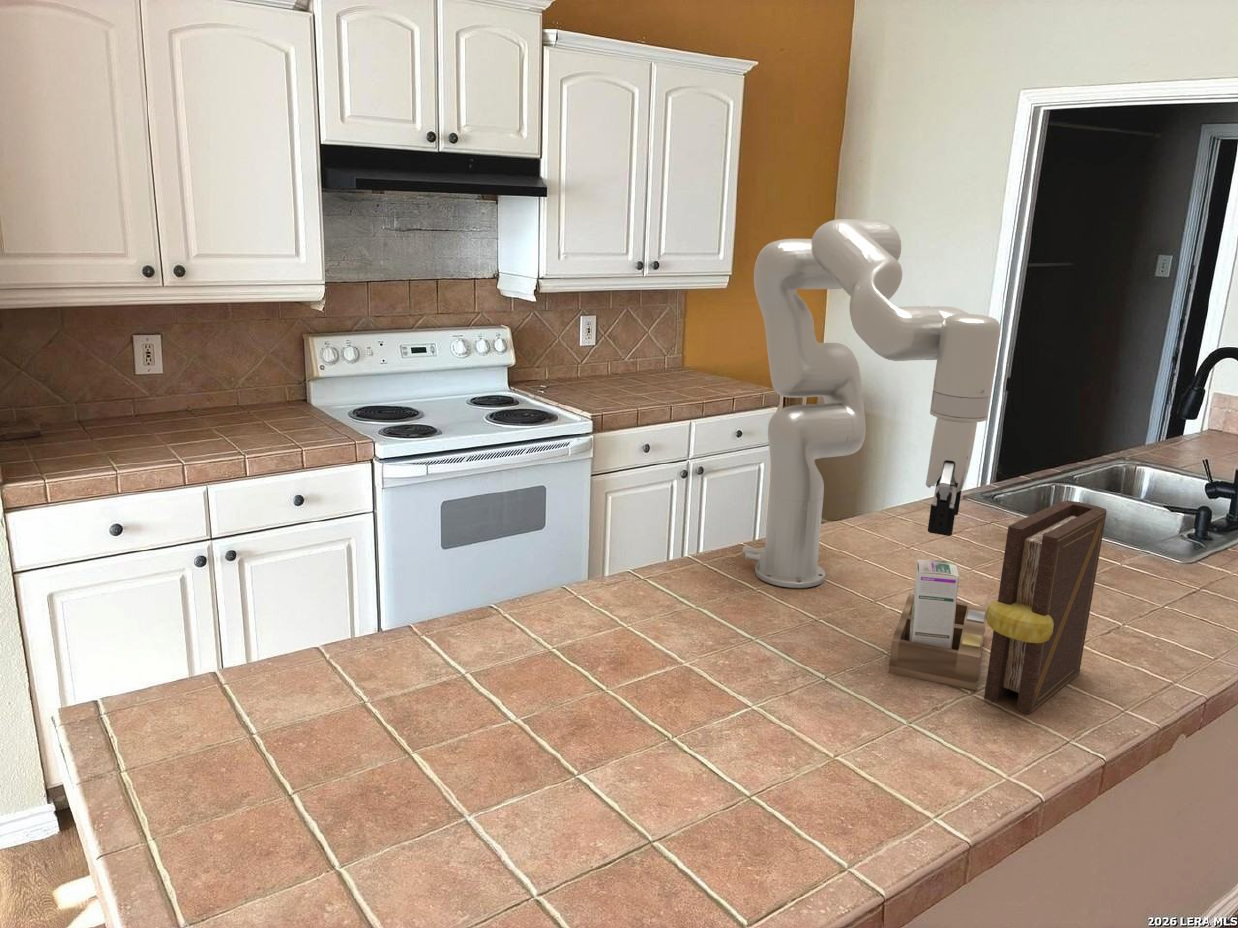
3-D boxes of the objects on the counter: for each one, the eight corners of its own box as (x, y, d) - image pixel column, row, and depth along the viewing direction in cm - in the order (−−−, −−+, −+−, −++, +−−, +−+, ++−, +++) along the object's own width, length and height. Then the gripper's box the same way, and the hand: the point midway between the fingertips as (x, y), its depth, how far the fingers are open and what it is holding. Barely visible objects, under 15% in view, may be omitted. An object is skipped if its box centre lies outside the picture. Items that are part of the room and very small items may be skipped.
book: (1033, 653, 145) (1057, 497, 139) (1091, 673, 139) (1119, 511, 133) (966, 701, 130) (990, 528, 124) (1028, 725, 124) (1056, 545, 118)
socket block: (975, 690, 133) (980, 655, 132) (888, 672, 138) (892, 638, 136) (983, 636, 151) (988, 605, 149) (905, 621, 155) (909, 591, 154)
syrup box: (950, 670, 137) (962, 575, 133) (907, 664, 138) (918, 571, 134) (946, 653, 142) (958, 562, 138) (905, 647, 143) (916, 557, 140)
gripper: (937, 391, 139) (922, 502, 144) (924, 414, 124) (908, 537, 129) (992, 397, 137) (975, 510, 141) (985, 422, 121) (966, 547, 126)
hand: (943, 523), depth 135 cm, fingers open, 9 cm apart
